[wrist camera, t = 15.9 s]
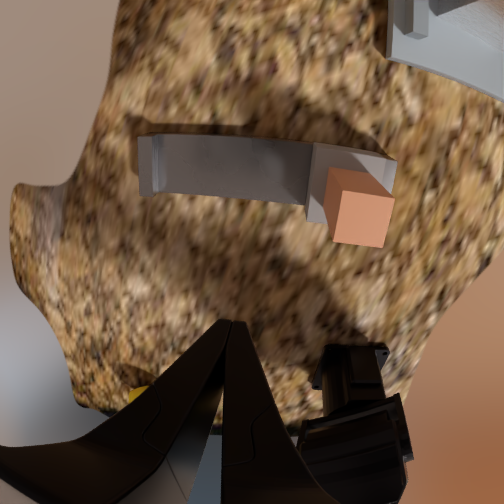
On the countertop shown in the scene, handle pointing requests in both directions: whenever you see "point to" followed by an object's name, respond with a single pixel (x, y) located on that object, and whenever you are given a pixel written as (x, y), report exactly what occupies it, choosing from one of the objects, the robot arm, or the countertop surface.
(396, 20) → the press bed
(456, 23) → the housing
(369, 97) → the countertop surface
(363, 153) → the lever
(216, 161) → the rail
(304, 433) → the robot arm
